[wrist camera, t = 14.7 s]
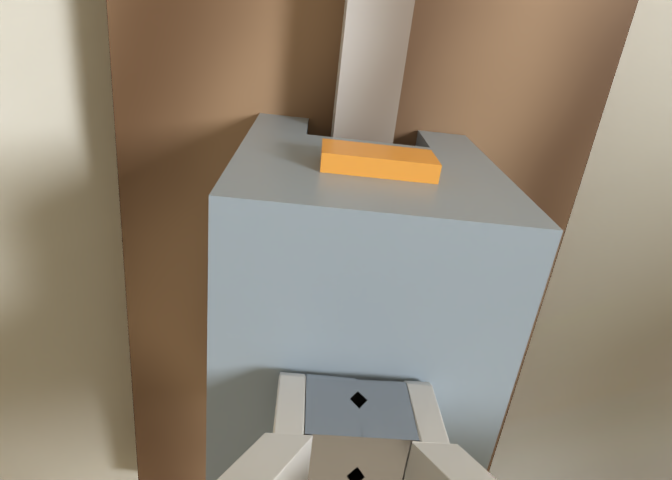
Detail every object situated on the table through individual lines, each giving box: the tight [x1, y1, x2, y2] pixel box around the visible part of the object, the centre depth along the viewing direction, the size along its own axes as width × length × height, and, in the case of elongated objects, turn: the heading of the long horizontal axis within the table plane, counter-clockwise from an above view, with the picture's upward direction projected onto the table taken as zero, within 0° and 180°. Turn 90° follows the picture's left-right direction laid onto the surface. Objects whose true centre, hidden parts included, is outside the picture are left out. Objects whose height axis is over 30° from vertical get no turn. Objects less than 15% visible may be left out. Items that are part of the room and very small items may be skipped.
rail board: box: [106, 0, 638, 480], centre depth 17 cm, size 14×23×3 cm, turn 174°
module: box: [206, 113, 563, 480], centre depth 13 cm, size 6×8×7 cm
